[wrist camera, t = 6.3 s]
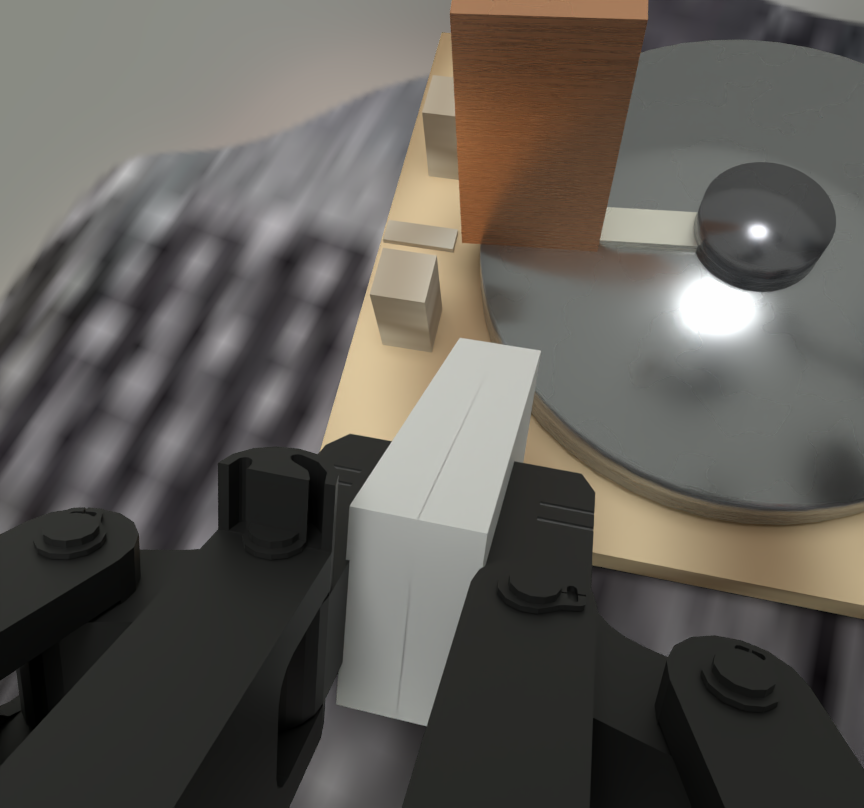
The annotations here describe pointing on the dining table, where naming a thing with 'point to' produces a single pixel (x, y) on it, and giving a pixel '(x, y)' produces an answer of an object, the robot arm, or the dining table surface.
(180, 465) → the dining table surface
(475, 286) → the tan record player
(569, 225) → the disc
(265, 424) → the dining table surface
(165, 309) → the dining table surface
